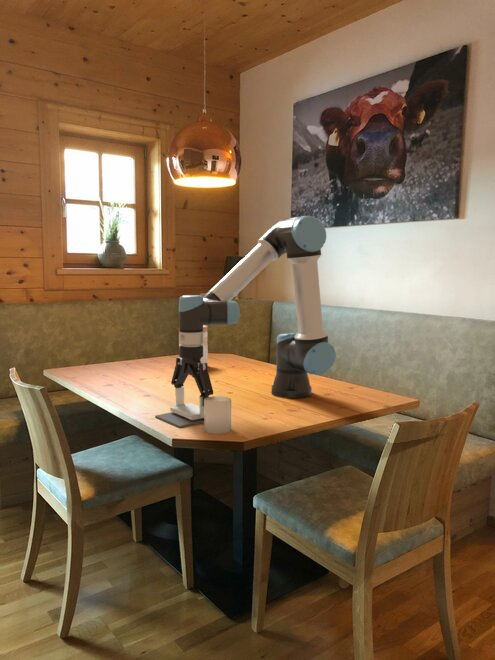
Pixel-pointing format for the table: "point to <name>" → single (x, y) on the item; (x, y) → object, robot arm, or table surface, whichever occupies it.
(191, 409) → the hard drive
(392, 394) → the table surface
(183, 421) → the mat
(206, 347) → the coffeecake box
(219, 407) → the cream rounded cylinder
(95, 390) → the table surface
